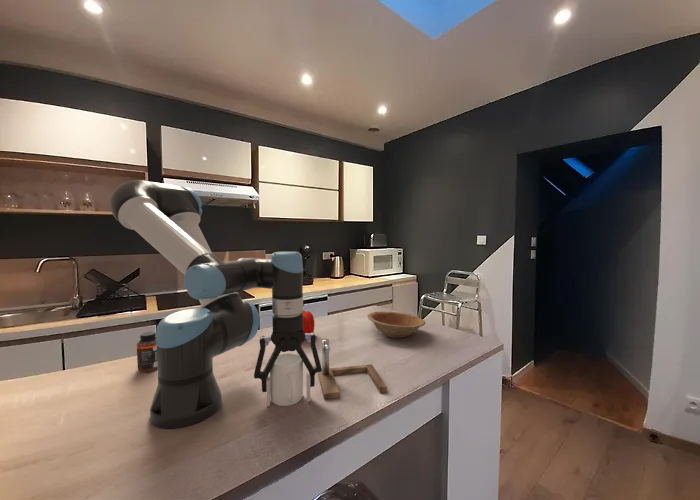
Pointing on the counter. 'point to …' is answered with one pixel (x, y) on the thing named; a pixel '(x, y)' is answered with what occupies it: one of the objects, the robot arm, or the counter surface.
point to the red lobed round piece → (308, 322)
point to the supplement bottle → (147, 352)
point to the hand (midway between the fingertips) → (288, 400)
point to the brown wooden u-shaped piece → (329, 381)
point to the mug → (286, 379)
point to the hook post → (325, 356)
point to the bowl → (396, 323)
